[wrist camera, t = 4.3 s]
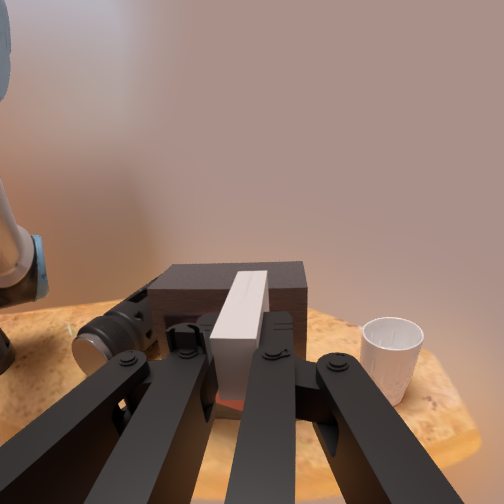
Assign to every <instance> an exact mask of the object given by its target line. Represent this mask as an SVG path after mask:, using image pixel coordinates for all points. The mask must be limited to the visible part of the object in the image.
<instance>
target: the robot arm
mask: <svg viewBox="0 0 504 504" xmlns="http://www.w3.org/2000/svg"><path fill="white" fill-rule="evenodd" d="M10 41H11V40H10V26H9V18H8V12H7V7H6V4H5V1H4V0H0V101H1V100H2V99H3V98H4V96H5V94H6V91H7V88H8V83H9V76H10V57H9V55H10V52H11V42H10ZM48 293H49V286H48V280H47V275H46V267H45V260H44V253H43V245H42V238H41V236H39V235H31V236H30V235H29V233H28V232H27V231H26V230H25V229H24V228H23V227H21V226H19V225H17V224H16V221H15V218H14V216H13V213H12V210H11V208H10V205H9V202H8V199H7V196H6V193H5V190H4V187H3V184H2V180H1V177H0V309H3V308H8V307H12V306H16V305H20V304H24V303H28V302H35V301H37V300H39V299H42V298H45V297H46V296H47V295H48ZM165 333H166V338H167V342H168V347H169V351H170V352H169V354H168V356H167V357H166V359H162V360H154V361H148V360H147V356H146V355H145V354H144V353H143V352H141V351H136V350H130V351H129V350H128V351H125V352H121V353H119V354H118V355H116V356H114V357H113V358H112V359H111V360H109V361H108V362H107V363H105V364H104V365H103V366H102V367H100V368H99V369H98V370H97V371H95V372H94V373H93V374H92V375H90V376H89V377H88V378H87V379H85V380H84V381H83V382H81V383H80V384H79V385H78V386H76V387H75V388H74V389H73V390H71V391H70V392H69V393H68V394H66V395H65V396H64V397H63V398H61V399H60V400H59V401H57V402H56V403H55V404H54V405H52V406H51V407H50V408H49V409H47V410H46V411H45V412H44V413H42V414H41V415H40V416H39V417H37V418H36V419H35V420H34V421H32V422H31V423H30V424H29V425H27V426H26V427H25V428H23V429H22V430H21V431H20V432H18V433H17V434H16V435H15V436H13V437H12V438H11V439H10V440H8V441H7V442H6V443H5V444H3V445H2V446H1V447H0V504H190V502H191V498H192V495H193V491H194V488H195V484H196V481H197V477H198V474H199V470H200V467H201V463H202V460H203V456H204V453H205V449H206V446H207V442H208V439H209V435H210V431H211V428H212V424H213V421H214V417H215V414H216V410H217V404H216V398H215V397H216V394H217V391H218V393H219V399H221V400H245V401H244V406H243V412H242V417H241V422H240V427H239V433H238V438H237V443H236V448H235V453H234V458H233V463H232V468H231V473H230V478H229V483H228V488H227V493H226V498H225V503H224V504H295V452H296V429H295V418H296V419H301V420H305V421H310V422H312V424H313V428H314V430H315V432H316V435H317V437H318V439H319V442H320V444H321V446H322V449H323V451H324V453H325V456H326V458H327V460H328V463H329V465H330V467H331V470H332V472H333V474H334V477H335V479H336V481H337V483H338V486H339V488H340V490H341V493H342V495H343V497H344V499H345V502H346V504H464V502H463V501H462V500H461V498H460V497H459V495H458V494H457V493H456V491H455V490H454V489H453V487H452V486H451V484H450V483H449V482H448V481H447V479H446V477H445V476H444V475H443V474H442V472H441V471H440V469H439V468H438V467H437V465H436V464H435V462H434V461H433V460H432V458H431V457H430V456H429V454H428V453H427V452H426V450H425V449H424V448H423V446H422V445H421V443H420V442H419V441H418V439H417V438H416V437H415V435H414V434H413V433H412V431H411V430H410V429H409V427H408V426H407V425H406V423H405V422H404V421H403V419H402V418H401V417H400V415H399V414H398V413H397V411H396V410H395V409H394V407H393V406H392V405H391V403H390V402H389V401H388V399H387V398H386V397H385V396H384V394H383V393H382V392H381V390H380V389H379V388H378V386H377V385H376V384H375V382H374V381H373V380H372V378H371V377H370V376H369V375H368V373H367V372H366V371H365V369H364V368H363V367H362V365H361V364H360V363H359V362H358V360H357V359H356V358H354V357H353V356H351V355H349V354H346V353H339V352H337V353H329V354H326V355H323V356H322V357H321V358H319V359H318V361H317V363H315V362H310V361H306V360H303V359H301V358H299V357H298V356H297V355H296V354H295V353H294V348H293V322H292V316H291V315H290V314H289V313H288V312H287V311H277V312H269V295H268V275H267V271H238V273H237V275H236V277H235V280H234V282H233V284H232V287H231V289H230V291H229V294H228V296H227V298H226V301H225V303H224V305H223V308H222V310H221V312H220V313H205V314H204V315H202V316H201V317H199V318H198V320H197V322H196V323H180V324H176V325H174V326H172V327H169V328H168V329H167V330H166V331H165ZM14 357H15V351H14V348H13V346H12V343H11V341H10V340H9V339H8V337H7V336H6V335H5V333H4V332H3V330H2V329H1V328H0V374H1V373H2V372H3V371H5V370H6V369H7V368H8V367H9V366H10V365H11V363H12V362H13V360H14ZM122 399H124V402H125V404H126V406H125V407H124V408H122V409H120V407H119V405H118V403H119V402H120V401H121V400H122Z"/></svg>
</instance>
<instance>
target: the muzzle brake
mask: <svg viewBox="0 0 504 504" xmlns="http://www.w3.org/2000/svg"><path fill="white" fill-rule="evenodd" d="M161 275H162V274H161ZM161 275H160V276H161ZM160 276H158V277H157V278H159V277H160ZM157 278H155V279H154V280H152V281H151V282H149V283H148V284H146V285H145V286H144V287H142V288H141V289H139V290H138V291H136V292H135V293H133V294H132V295H130V296H129V297H128V298H126V299H125V300H123V301H122V302H120V303H119V304H117V305H116V306H115V307H113V308H112V309H110V310H109V311H108V312H106V313H105V314H104V315H103V316H99V317H96V318H94V319H93V320H92V321H90V322H89V323H87V324H86V325H85V326H83V327H82V328H81V329H80V330H79V331H78V334H77V337H76V338H75V339H74V340H73V342H72V352H73V356H74V358H75V360H76V362H77V364H78V365H79V367H80V368H81V370H82V371H83V372H84V373H85V374H86V375H87V376H88V377H89V376H90V375H92V374H93V373H94V372H95V371H97V370H98V369H99V368H100V367H102V366H103V365H104V364H105V363H107V362H108V361H109V360H111V359H112V358H113V357H114V356H116V355H118V354H119V353H121V352H125V351H128V350H129V351H130V350H136V351H141V352H143V353H144V352H145V351H146V350H147V349H148V348H149V347H150V346H151V345H152V344H153V343H154V342H155V341H156V340H157V336H156V332H155V327H154V323H153V318H152V313H151V309H150V304H149V298H148V293H147V288H148V287H149V286H150V285H151V284H152V283H153V282H154V281H155V280H156V279H157Z"/></svg>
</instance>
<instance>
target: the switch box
mask: <svg viewBox="0 0 504 504" xmlns="http://www.w3.org/2000/svg"><path fill="white" fill-rule="evenodd" d="M238 271H267V275H268V295H269V312H277V311H287V312H288V313H289V314H290V315H291V316H292V322H293V348H294V353H295V354H296V355H297V356H298V357H299V358H301V359H303V360H306V343H307V292H308V290H307V289H308V287H307V282H306V276H305V272H304V266H303V262H302V261H298V262H297V261H296V262H262V263H261V262H259V263H221V264H220V263H218V264H173V265H171V266H170V267H169V268H168V269H167V270H166V271H165V272H164V273H163V274H162V275H161V276H160V277H159V278H157V279H156V280H155V281H154V282H153V283H152V284H151V285H150V286H149V287H148V288H147V293H148V298H149V304H150V309H151V313H152V318H153V323H154V327H155V332H156V336H157V341H158V345H159V349H160V353H161V357H162V359H166V357H167V356H168V354H169V352H170V351H169V347H168V342H167V338H166V333H165V331H166V330H167V329H168V328H169V327H172V326H174V325H176V324H180V323H196V322H197V320H198V318H199V317H201V316H202V315H204V314H205V313H220V312H221V310H222V308H223V305H224V303H225V301H226V298H227V296H228V294H229V291H230V289H231V287H232V284H233V282H234V280H235V277H236V275H237V273H238ZM216 404H217V410H216V414H215V417H214V418H221V419H238V420H241V417H242V412H243V411H240V410H237V409H234V408H230V407H227V406H224V405H221V404H218V403H216ZM295 420H301V419H296V418H295Z"/></svg>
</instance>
